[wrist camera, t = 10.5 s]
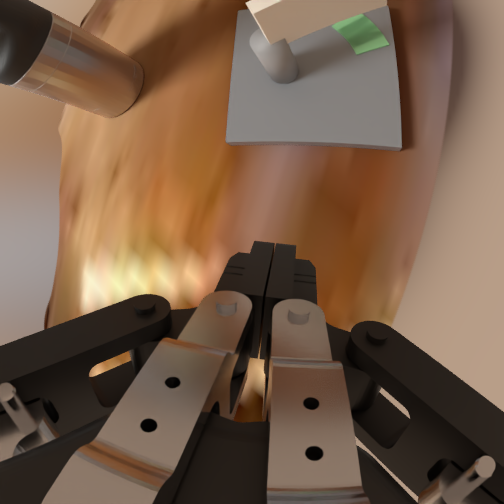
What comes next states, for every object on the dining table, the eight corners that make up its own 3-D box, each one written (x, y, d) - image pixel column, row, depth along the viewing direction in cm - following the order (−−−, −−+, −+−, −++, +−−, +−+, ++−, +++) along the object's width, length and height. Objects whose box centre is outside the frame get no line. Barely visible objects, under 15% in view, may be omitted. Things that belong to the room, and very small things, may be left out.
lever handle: (276, 88, 30) (238, 30, 19) (264, 67, 30) (223, 6, 19) (388, 41, 26) (395, -29, 15) (372, 21, 26) (371, -51, 15)
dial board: (230, 145, 34) (224, 141, 32) (242, 16, 32) (237, 9, 31) (399, 151, 29) (402, 147, 27) (387, 13, 27) (388, 5, 25)
